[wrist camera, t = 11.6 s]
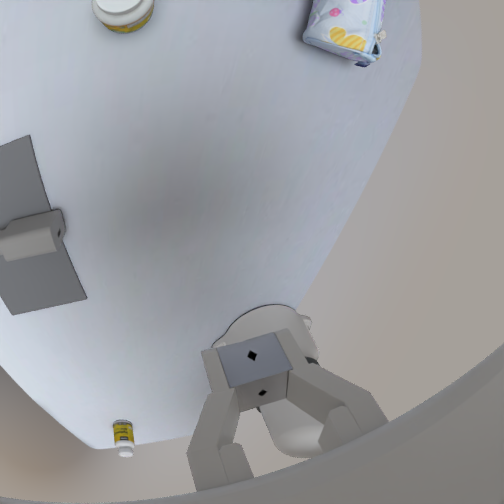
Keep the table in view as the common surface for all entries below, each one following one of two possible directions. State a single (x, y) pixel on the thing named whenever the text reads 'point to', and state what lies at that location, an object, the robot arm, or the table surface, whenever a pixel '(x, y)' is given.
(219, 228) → the table surface
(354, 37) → the pencil case
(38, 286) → the desk mat
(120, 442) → the supplement bottle
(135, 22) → the supplement bottle
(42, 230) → the power adapter
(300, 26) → the table surface
